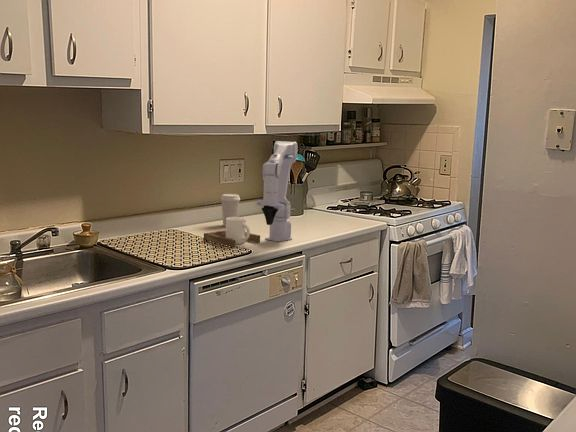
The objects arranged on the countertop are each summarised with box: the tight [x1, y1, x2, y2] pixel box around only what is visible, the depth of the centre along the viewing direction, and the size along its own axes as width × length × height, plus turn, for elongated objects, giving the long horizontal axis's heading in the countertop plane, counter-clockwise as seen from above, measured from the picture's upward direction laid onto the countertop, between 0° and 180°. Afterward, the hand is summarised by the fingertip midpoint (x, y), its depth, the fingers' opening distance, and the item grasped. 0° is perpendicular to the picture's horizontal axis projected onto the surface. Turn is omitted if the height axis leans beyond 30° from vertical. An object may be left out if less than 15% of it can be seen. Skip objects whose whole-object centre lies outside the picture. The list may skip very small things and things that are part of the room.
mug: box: [225, 216, 251, 245], centre depth 246 cm, size 12×8×10 cm
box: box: [203, 229, 261, 248], centre depth 249 cm, size 16×18×3 cm
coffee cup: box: [220, 193, 241, 227], centre depth 282 cm, size 10×10×15 cm
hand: (269, 224), depth 241 cm, fingers closed
